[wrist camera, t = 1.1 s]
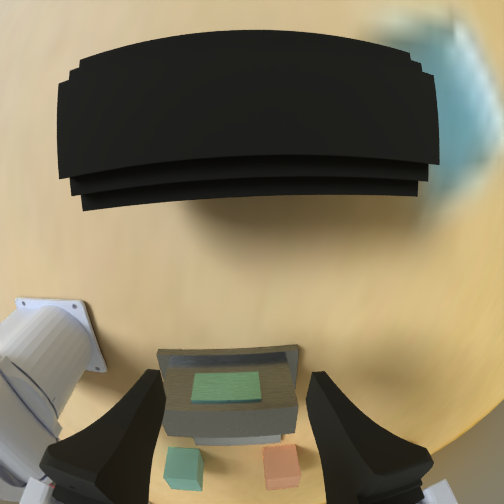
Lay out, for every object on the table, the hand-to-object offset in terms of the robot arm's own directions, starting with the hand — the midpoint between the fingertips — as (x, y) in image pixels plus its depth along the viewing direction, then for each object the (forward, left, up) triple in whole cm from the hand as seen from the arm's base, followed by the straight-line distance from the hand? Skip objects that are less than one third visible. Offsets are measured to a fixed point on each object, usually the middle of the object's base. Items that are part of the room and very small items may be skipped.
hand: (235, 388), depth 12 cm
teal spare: (-8, -24, -10) cm, 27 cm away
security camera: (+2, +12, -10) cm, 16 cm away
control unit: (-1, -8, -10) cm, 12 cm away
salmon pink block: (+4, -24, -10) cm, 26 cm away
